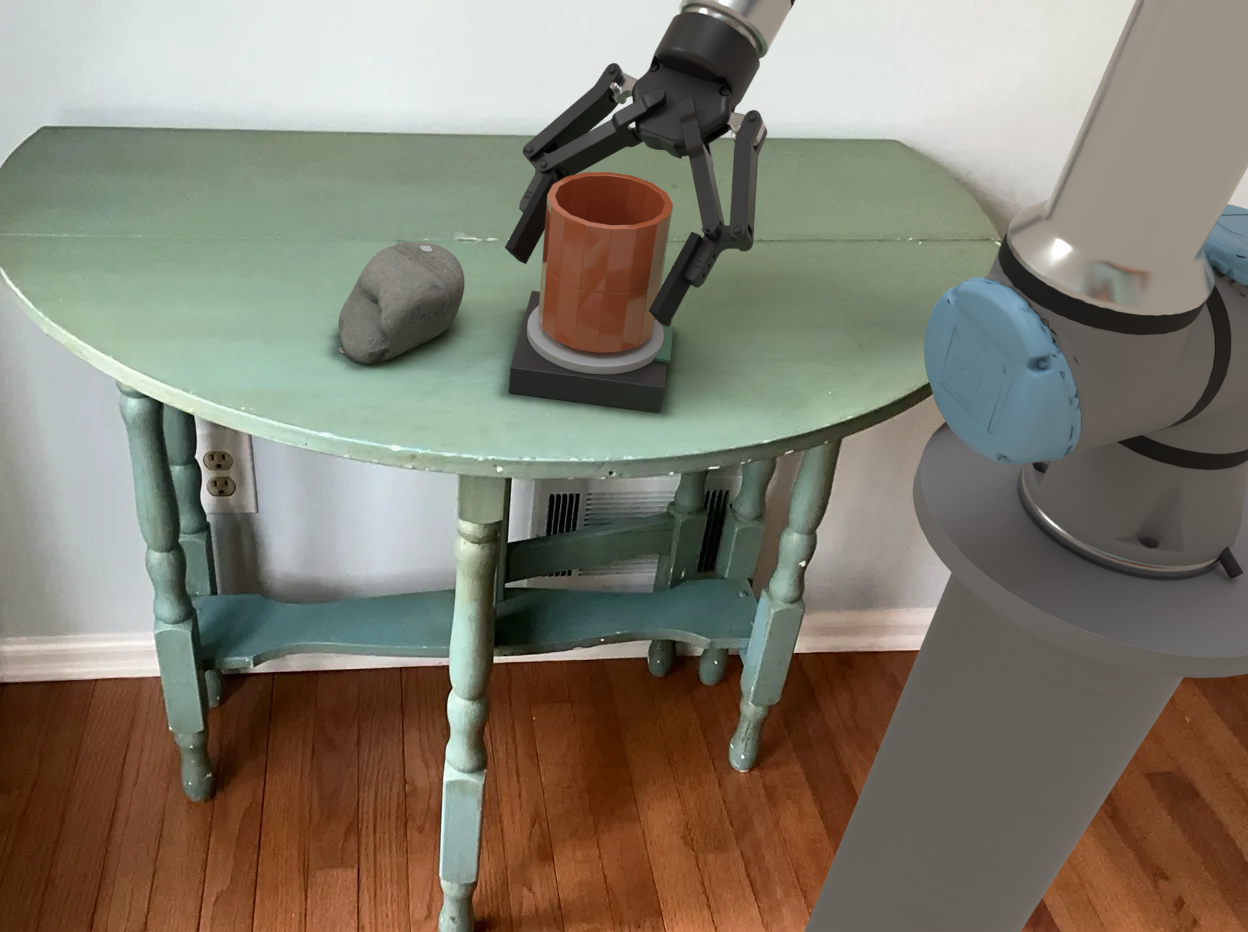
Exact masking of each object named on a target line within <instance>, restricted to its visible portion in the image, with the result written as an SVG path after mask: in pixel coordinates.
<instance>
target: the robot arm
mask: <svg viewBox="0 0 1248 932" xmlns="http://www.w3.org/2000/svg"><path fill="white" fill-rule="evenodd" d="M795 2H796V0H681V2H680V4H679V6H678V10H679V13H678V14H676V15H674V16H673V18H672V19H671V21H670V23H669V25H668V27H667V29H666V30H665V32H664V34H663V36H662V38H661V40H660V42H659V43H658V45H657V47H656V49H655V51H654V53H653V55H652V59H651V62H650V65H649V68H648V69H647V71H646V72H645V73H644V74H643V75H642V76H641V77H640V78H635V77H633V76H631V75H629V74H627V73H625V72H624V71H623V70H622V68H621V67H620V65H619V64H618V63H616V62H612V63H609V64H608V65H607V66H606V67H605V69H604V71H602V73H601V75H600V77H599V78H598V79H597V81H596V82H595V84H594V85H593V86H592V87H591V88H589V90H587V91H586V92H585V93H584V94H583V95H582V96H581V97H579V98H578V99H577V100H576V101H575V102H573V104H572V105H570V106H569V107H568V108H566V110H564V111H563V112H562V113H561V114H560V115H559V116H558V117H556V118H555V119H554V120H552V122H551V123H549V124H548V125H547V126H546V127H544V128H543V130H541V131H540V132H538V134H536V135H535V136H534V137H532V138H531V140H530V141H528V142H527V143H526V144H525V145H524V146H523V148H522V154H523V156H524V157H525V159H527V161H528V162H529V163H530V164H531V166H532V167H533V168H534V170H535V171H534V175H533V177H532V178H531V181H530V183H529V184H528V186H527V188H526V190H525V192H524V194H523V196H522V197H521V199H520V201H519V207H518V209H519V211H520V212H521V213H522V214H521V216H520V217H519V220H518V222H517V224H516V226H515V227H514V229H513V231H512V233H511V235H510V237H509V239H508V241H507V242H506V244H505V246H504V249H505V250H506V251H507V252H508V253H510V255H512V257H513V258H515V260H516V261H518V262H520V263H522V264H524V265H527V264H528V261H529V259H530V257H532V254H533V253H534V250H535V248H536V247H537V244H538V243H539V241H540V239H541V237H542V236H543V235H544V233H545V219H546V206H547V195H548V193H549V191H550V189H551V187H552V185H553V184H555V183H556V182H558V181H560V180H562V179H563V178H565V177H567V176H572V175H576V174H580V173H581V172H584V171H585V170H587V169H588V168H591V167H592V166H594V165H596V164H598V163H599V162H601V161H603V160H605V159H607V158H608V157H611V156H613V155H614V154H616V153H617V152H619V151H621V150H623V149H625V148H634V147H636V146H638V145H640V144H642V143H644V144H645V146H646V147H647V148H649V149H651V150H652V149H653V150H655V151H665V152H666V153H668V154H669V155H671V156H672V157H673V158H677V159H680V160H681V159H682V158H683V157H688V158H689V159H688V160H689V163H690V169H691V173H692V178H693V179H692V180H693V185H694V188H695V195H696V199H697V204H698V209H699V215H700V220H701V225H702V228H701V229H700V230H701V231H702V234H703V236H702V235H701V234H699V233H697V232H694V231H691V232H690V233H689V235H688V237H687V239H686V241H685V243H684V245H683V247H682V248H681V250H680V252H679V254H678V256H677V257H676V259H675V261H674V263H673V265H672V266H671V269H670V270H669V272H668V274H667V276H666V277H665V280H664V282H663V283H662V284H661V288H660V291H659V292H658V294H657V296H656V298H655V300H654V302H653V303H652V305H651V307H650V309H649V312H650V313H651V314H652V315H653V316H654V317H655V319H656V320H657V321H658V322H659V323H660V324H663V325H665V326H667V327H668V326H669V324H670V322H671V323H672V321H673V318H674V316H675V315H676V313H677V311H678V310H679V308H680V305H681V303H682V302H683V300H684V298H685V296H686V295H687V293H688V291H689V290H690V287H694V288H696V289H700V287H702V286H703V285H704V284H705V282H706V280H707V278H708V276H709V275H710V273H711V271H712V269H713V267H714V266H715V264H716V262H717V260H718V258H719V256H720V254H722V253H723V252H724V251H726V250H739V251H740V252H743V253H744V252H745V253H746V252H748V251H750V250H752V248H753V246H754V240H755V239H754V237H755V221H756V203H757V186H758V185H757V184H758V183H757V181H758V166H759V165H758V164H759V155H760V152H761V151H762V148H763V145H764V143H765V141H766V139H767V136H768V129H767V127H766V125H765V121H764V120H763V116H761V113H760V112H759V111H758V110H756V109H751V110H748V111H747V112H746V113H745V114H744V113H739V112H735V111H736V108H737V106H738V105H739V104H740V103H741V102H742V100H743V99H744V97H745V95H746V93H747V91H748V90H749V88H750V86H751V84H752V82H753V80H754V78H755V76H756V74H757V72H758V71H759V69H760V66H761V61H760V59H762V58H764V57H766V55H767V53H768V52H769V50H770V49H771V47H772V45H773V42H774V41H775V39H776V37H777V35H778V33H779V32H780V29H781V28H782V26H783V24H784V22H785V20H786V19H787V16H788V15H789V13H790V11H791V10H792V8H793V6H794V5H795ZM1119 35H1120V36H1119V37H1118V40H1117V42H1116V45H1115V47H1114V49H1113V51H1112V54H1111V56H1110V58H1109V61H1108V63H1107V65H1106V67H1105V71H1104V72H1103V74H1102V77H1101V80H1100V81H1099V84H1098V86H1097V89H1096V91H1095V93H1094V95H1093V98H1092V100H1091V102H1090V104H1089V107H1088V110H1087V111H1086V114H1085V116H1084V119H1083V121H1082V123H1081V125H1080V128H1079V130H1078V132H1077V135H1076V137H1075V139H1074V141H1073V144H1072V146H1071V149H1070V151H1069V153H1068V155H1067V158H1066V160H1065V162H1064V164H1063V166H1062V170H1061V171H1060V174H1059V176H1058V179H1057V181H1056V183H1055V185H1054V188H1053V190H1052V192H1051V195H1050V197H1049V198H1047V199H1045V200H1043V201H1041V202H1038V203H1035V204H1033V205H1030V206H1028V207H1026V208H1023V209H1021V210H1020V211H1019V212H1018V213H1016V215H1015V216H1014V217H1013V218H1012V219H1011V221H1010V223H1009V225H1008V227H1007V229H1006V232H1005V234H1004V236H1003V239H1002V241H1001V243H1000V246H999V248H998V251H997V253H996V256H995V258H994V260H993V263H992V265H991V267H990V270H989V271H988V273H987V274H986V276H984V277H980V276H973V277H970V278H968V279H965V280H963V281H962V282H959V283H958V284H957V285H956V286H953V287H951V288H950V289H947V291H945V292H944V293H943V294H942V295H941V296H940V297H939V299H938V300H937V302H936V303H935V304H934V306H933V308H932V310H931V311H930V314H929V317H928V320H927V323H926V328H925V333H924V334H925V335H924V340H923V341H924V342H923V353H924V354H923V355H924V356H923V357H924V366H925V374H926V378H927V381H928V382H929V385H930V388H931V392H932V397H933V400H934V403H935V404H936V407H937V409H938V411H939V412H940V414H941V417H942V418H943V420H944V422H946V423H947V424H948V426H949V427H950V429H951V430H952V431H953V432H954V434H955V435H956V436H957V437H958V438H959V439H960V440H961V441H962V442H963V443H964V444H965V445H966V446H967V447H969V448H970V449H971V450H972V451H974V452H975V453H977V454H979V455H980V456H982V457H984V458H986V459H988V460H991V461H994V462H997V463H1001V464H1010V465H1018V464H1024V465H1023V467H1022V469H1021V472H1020V474H1019V477H1018V482H1017V491H1018V496H1019V499H1020V502H1021V504H1022V506H1023V508H1024V510H1025V511H1026V513H1027V515H1028V516H1029V517H1030V519H1031V520H1032V521H1033V522H1034V523H1035V525H1036V526H1037V527H1038V528H1039V529H1040V530H1041V531H1042V532H1044V533H1045V534H1046V535H1047V536H1048V537H1049V538H1051V539H1052V540H1053V541H1054V542H1056V543H1057V544H1059V545H1060V546H1062V547H1063V548H1065V549H1066V550H1068V551H1070V552H1071V553H1073V554H1075V555H1077V556H1079V557H1080V558H1082V559H1084V560H1087V561H1089V562H1091V563H1093V564H1096V565H1098V566H1101V567H1103V568H1106V569H1109V570H1112V571H1115V572H1118V573H1122V574H1126V575H1130V576H1135V577H1140V578H1146V579H1155V580H1180V579H1188V578H1193V577H1197V576H1200V575H1203V574H1206V573H1208V572H1210V571H1212V570H1213V569H1215V568H1216V567H1217V566H1219V565H1220V564H1222V566H1223V568H1224V569H1225V571H1226V572H1227V574H1228V576H1229V577H1230V578H1231V579H1232V578H1235V577H1237V576H1239V575H1241V574H1243V573H1244V572H1243V571H1242V569H1241V567H1240V566H1239V564H1238V563H1237V561H1236V559H1235V558H1234V556H1233V554H1232V553H1231V551H1230V549H1231V548H1232V546H1233V544H1234V543H1235V541H1236V537H1237V535H1238V532H1239V529H1240V526H1241V520H1242V513H1243V506H1244V498H1245V491H1246V484H1247V476H1248V208H1246V207H1242V206H1239V205H1238V206H1237V205H1234V204H1230V203H1229V202H1230V201H1231V199H1232V197H1233V195H1234V193H1235V191H1236V190H1237V187H1238V186H1239V184H1240V182H1241V181H1242V179H1243V177H1244V176H1245V173H1246V172H1247V170H1248V0H1135V1H1134V3H1133V5H1132V8H1131V10H1130V12H1129V15H1128V17H1127V20H1126V22H1125V24H1124V26H1123V28H1122V31H1121V33H1120V34H1119ZM628 98H631V99H632V103H629V104H628V105H626V106H624V107H623V108H621V109H619V110H618V111H616V112H614V111H615V109H616V108H617V107H618V105H619V104H620V105H624V104H626V102H627V99H628ZM612 112H614V113H613V114H612V117H611V119H609V120H607V121H606V122H604V123H602V124H600V123H601V122H602V121H603V120H605V119H606V118H607V117H608V116H609V115H610V114H611V113H612ZM633 123H634V126H633V127H631V126H630V125H631V124H633ZM598 124H600V125H598ZM597 125H598V126H597ZM729 131H731V133H730V135H731V139H732V141H733V143H734V147H733V161H732V162H733V163H732V176H731V177H732V178H731V179H732V180H731V194H730V195H731V197H730V211H729V212H730V215H729V225H728V224H727V225H726V224H725V219H724V214H723V210H722V205H721V199H720V193H719V190H718V189H719V188H718V185H717V179H716V175H715V169H714V167H715V165H714V160H713V154H712V149H711V145H710V144H711V143H713V142H714V141H716V140H718V139H720V138H721V137H723V136H724V135H726V134H728V133H729Z"/></svg>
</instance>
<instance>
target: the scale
mask: <svg viewBox="0 0 1248 932" xmlns="http://www.w3.org/2000/svg"><path fill="white" fill-rule="evenodd" d="M539 299H540V290H531V292H530V295H529V298H528V302H527V306H526V309H525V313H524V316H523V321H522V324H521V328H520V330H519V335H518V339H517V342H516V345H515V349H514V352H513V356H512V360H511V364H510V366H509V381H508V393H509V394H516V395H523V396H524V395H525V396H532V397H538V398H545V399H555V400H560V401H562V400H563V401H570V402H577V403H584V404H591V405H600V406H606V407H614V408H622V409H629V410H636V411H645V412H651V413H652V412H653V413H661V412H662V407H663V401H664V397H665V390H666V381H667V379H666V378H667V369H668V364H670V363H671V359H672V358H671V357H672V348H673V347H672V346H673V339H674V326H672V321H671V322H670V324H669V326H668V327H667V326H665V325H663V324H660V323H659V322H658V321H657V320H656V321H655V326H654V330H653V333H652V336H651V337H650V338H649V339H648V340H646V341H645V342H644V343H642V344H641V345H640V346H637V347H634V348H630V349H627V350H624V351H620V352H613V353H592V352H585V351H581V350H577V349H574V348H572V347H569V346H567V345H565V344H562V343H560V342H558V341H556V340H554V339H553V338H552V337H551V336H550V335H549V334H547V333H546V332H545V331H544V330H543V329H542V327H541V323H540V320H539V317H538V313H539Z"/></svg>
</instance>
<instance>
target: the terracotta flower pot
mask: <svg viewBox="0 0 1248 932" xmlns="http://www.w3.org/2000/svg"><path fill="white" fill-rule="evenodd" d="M673 209H674V203H673V201H672V199H671V198H670V195H669V194H668V193H667V191H665V190H663V188H661V187H660V186H658V185H657V184H655V183H654V182H651V181H649V180H645V179H642V178H640V177H638V176H634V175H630V174H624V173H617V172H611V171H598V172H597V171H596V172H595V171H593V172H592V171H591V172H590V171H589V172H588V171H587V172H582V173H581V172H580V173H577V174H575V175H572V176H567V177H565V178H563V179H562V180H560V181H558V182H556V183H555V184H553V185H552V187H551V189H550V191H549V193H548V195H547V206H546V219H545V230H544V232H543V247H542V262H541V272H540V275H541V276H540V286H539V287H540V288H539V291H540V299H539V313H538V317H539V320H540V323H541V327H542V329H543V330H544V331H545V332H546V333H547V334H549V335H550V336H551V337H552V338H553V339H554V340H556V341H558V342H560V343H562V344H565V345H567V346H569V347H572V348H574V349H577V350H581V351H585V352H592V353H613V352H620V351H624V350H627V349H630V348H634V347H637V346H640V345H641V344H642V343H644V342H645V341H646V340H648V339H649V338H650V337H651V336H652V333H653V330H654V326H655V321H656V319H655V317H654V316H653V315H652V314H651V313H650V312H649V309H650V307H651V305H652V303H653V302H654V300H655V298H656V296H657V294H658V292H659V291H660V289H661V287H662V280H663V274H664V268H665V267H664V266H665V261H666V255H667V247H668V241H669V235H670V228H671V222H672V215H673Z"/></svg>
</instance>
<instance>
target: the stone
mask: <svg viewBox="0 0 1248 932" xmlns="http://www.w3.org/2000/svg"><path fill="white" fill-rule="evenodd" d="M358 276H359V277H358V278H357V280H356V282H355V284H354V286H353V288H352V290H351V291H350V293H349V295H348V296H347V299H346V301H345V302H344V303H343V305H342V307H341V310H340V312H339V316H338V323H337V324H338V330H339V339H340V342H341V345H342V346H341V347H339V352H340V353H341V354H345V355H346V357H347V358H349V359H351V360H352V359H353V361H354V362H355V363H361V364H363V365H364V364H365V365H366V364H367V365H368V364H374V363H378V362H386V361H388V360H391V359H393V358H396V357H397V356H400V355H402V354H404V353H406V352H408V351H410V350H412V349H415V348H416V347H418V346H421V345H423V344H425V343H427V342H429V341H431V340H433V339H434V338H436V337H438V336H439V335H441V334H442V333H444V332H445V331H446V330H447V329H448V328H449V327H450V326H451V325H452V323H453V322H454V320H455V319H456V317H457V315H458V312H459V310H460V306H461V304H462V301H463V296H464V293H465V274H464V270H463V267H462V265H461V263H460V261H459V259H458V258H457V257H456V255H454V254H453V253H452V252H451V251H450V250H448V249H447V248H445V247H443V246H441V245H439V244H435V243H431V242H422V241H404V242H398V243H396V244H394V245H391V246H387V247H385V248H383V249H381V250H379V251H378V252H376V254H375V255H374V256H372V258H371V259H370V260H369V261H368V262H367V264H366V265H365V266H364V268H363V270H362V271H361V273H360V274H359V275H358Z"/></svg>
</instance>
